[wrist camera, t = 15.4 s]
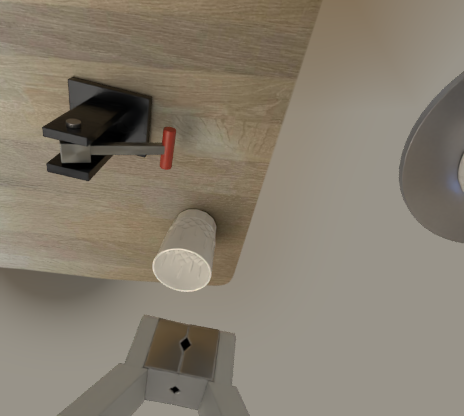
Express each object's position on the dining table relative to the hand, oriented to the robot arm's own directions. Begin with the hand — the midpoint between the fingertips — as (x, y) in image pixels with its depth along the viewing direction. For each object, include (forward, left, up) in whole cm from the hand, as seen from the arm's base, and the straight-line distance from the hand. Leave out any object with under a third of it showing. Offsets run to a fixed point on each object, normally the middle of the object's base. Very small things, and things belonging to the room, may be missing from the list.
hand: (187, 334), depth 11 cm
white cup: (+3, +23, -34) cm, 41 cm away
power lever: (+12, +8, -28) cm, 31 cm away
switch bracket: (+16, +8, -34) cm, 39 cm away
